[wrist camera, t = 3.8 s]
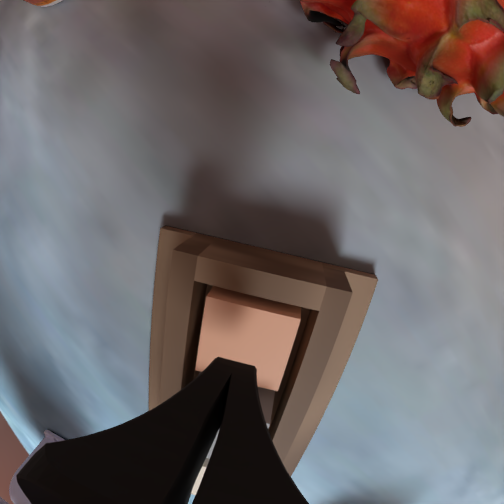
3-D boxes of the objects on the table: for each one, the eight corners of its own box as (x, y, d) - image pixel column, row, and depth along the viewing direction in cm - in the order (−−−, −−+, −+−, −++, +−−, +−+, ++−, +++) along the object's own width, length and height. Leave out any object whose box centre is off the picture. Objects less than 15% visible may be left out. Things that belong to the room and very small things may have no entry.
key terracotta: (209, 342, 15) (195, 370, 13) (221, 274, 14) (206, 296, 12) (281, 360, 15) (277, 391, 13) (301, 294, 14) (300, 319, 12)
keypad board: (152, 437, 19) (136, 466, 16) (165, 225, 15) (135, 240, 12) (289, 473, 18) (286, 506, 16) (375, 275, 14) (391, 301, 11)
